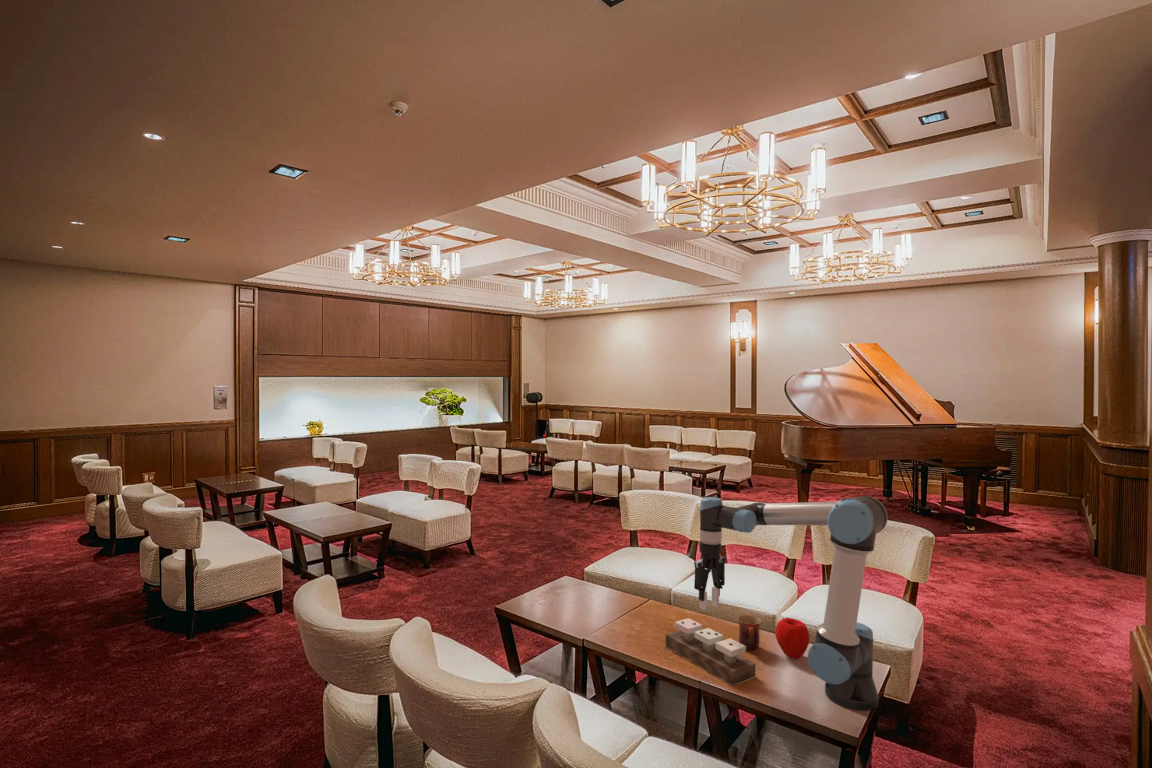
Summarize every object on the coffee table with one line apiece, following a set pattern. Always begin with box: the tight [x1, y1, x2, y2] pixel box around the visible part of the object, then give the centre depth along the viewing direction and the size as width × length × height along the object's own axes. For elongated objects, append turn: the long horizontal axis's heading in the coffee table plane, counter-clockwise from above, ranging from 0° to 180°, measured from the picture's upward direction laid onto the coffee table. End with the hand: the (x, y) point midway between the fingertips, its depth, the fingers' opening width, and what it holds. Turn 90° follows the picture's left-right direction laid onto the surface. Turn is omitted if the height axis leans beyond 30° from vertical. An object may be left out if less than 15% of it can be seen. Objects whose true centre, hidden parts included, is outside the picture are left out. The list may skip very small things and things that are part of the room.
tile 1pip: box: [715, 638, 747, 664], centre depth 191 cm, size 7×7×7 cm
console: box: [664, 630, 757, 687], centre depth 199 cm, size 33×12×4 cm, turn 33°
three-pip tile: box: [694, 627, 724, 652], centre depth 199 cm, size 7×7×7 cm
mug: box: [737, 614, 763, 652], centre depth 209 cm, size 12×9×10 cm
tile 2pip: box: [674, 617, 703, 641], centre depth 207 cm, size 7×7×7 cm
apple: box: [774, 617, 810, 660], centre depth 204 cm, size 12×12×13 cm
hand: (709, 607), depth 199 cm, fingers open, 5 cm apart
